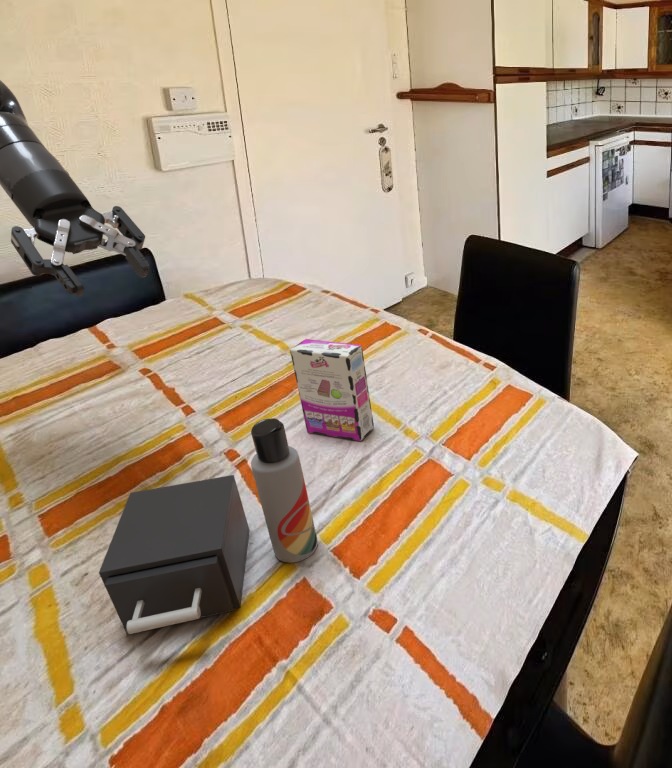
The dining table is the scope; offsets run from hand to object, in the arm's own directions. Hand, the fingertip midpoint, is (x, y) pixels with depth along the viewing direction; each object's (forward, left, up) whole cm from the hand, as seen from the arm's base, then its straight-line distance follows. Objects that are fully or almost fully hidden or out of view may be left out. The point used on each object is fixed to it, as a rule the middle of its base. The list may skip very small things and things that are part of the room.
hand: (114, 283), depth 83 cm
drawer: (+5, -27, -32) cm, 42 cm away
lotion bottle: (+18, -22, -33) cm, 43 cm away
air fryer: (+5, -23, -33) cm, 40 cm away
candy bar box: (+25, +7, -33) cm, 42 cm away
